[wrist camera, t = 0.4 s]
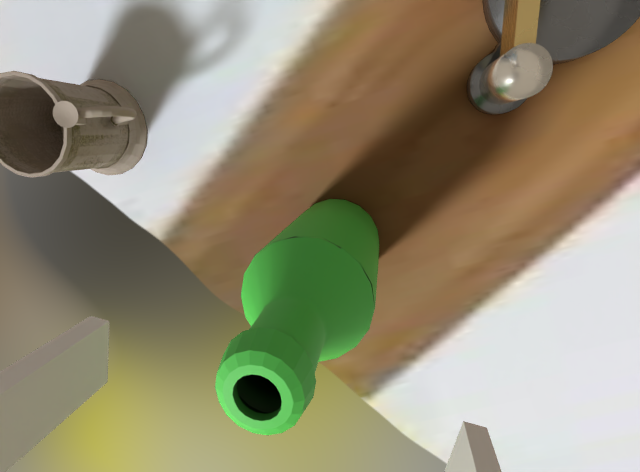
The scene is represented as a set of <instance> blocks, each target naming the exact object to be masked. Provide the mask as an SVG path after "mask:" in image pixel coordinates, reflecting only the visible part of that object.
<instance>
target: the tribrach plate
mask: <svg viewBox="0 0 640 472" xmlns="http://www.w3.org/2000/svg"><path fill="white" fill-rule="evenodd" d="M504 4H505V0H483V10H484V15H485V19H486V22H487V25H488V27H489V30H490V31H491V33H492V35H493V36H494V38H495V39H496V41H497V42H498V45H497V46H496V48H495V49H494V51H493V53H491V54H489V55H488V56H486V57H485V58H484V59H482V60H481V61H480V62H479V63H478V64H477V65H476V66H475V67H474V69H473V70H472V72H471V73H470V76H469V78H468V82H467V94H468V98H469V100H470V102H471V103H472V105H473V106H474V107H475V108H476V109H477V110H479V111H481V112H483V113H486V114H501V113H505V112H509V111H512V110H514V109H516V108H517V107H519V106H520V105H521V104H522V103H523V102H524V101H525V100H526V99H527V98H524V99H521V100H517V101H514V102H510V103H507V104H503V105H495V104H491V103H489V102H488V101H486V100H485V99H484V98H483V96H482V95H481V93H480V89H479V81H480V77H481V75H482V73H483V71H484V70H485V69H486V67H487V66H488V65H490V64H491V63H492V62H494V61H495V60H497V59H498V58H499V57H500V50H501V39H502V27H503V15H504ZM639 17H640V0H540V9H539V18H538V28H537V37H536V44H538V45H540V46H542V47H544V48H545V49H546V50H547V51H548V52H549V54H550V56H551V58H552V62H553V64H559V63H565V62H569V61H573V60H575V59H578V58H581V57H583V56H586V55H588V54H590V53H593V52H595V51H597V50H599V49H601V48H603V47H605V46H607V45H608V44H610V43H611V42H613V41H614V40H616V39H617V38H618V37H620V36H621V35H622V34H623V33H624V32H626V31H627V30H628V29H629V28H630V27H631V26H632V25H633V24H634V23H635V22H636V20H637V19H638V18H639Z"/></svg>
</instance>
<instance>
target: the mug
mask: <svg viewBox="0 0 640 472" xmlns="http://www.w3.org/2000/svg"><path fill="white" fill-rule="evenodd" d="M146 140H147V128H146V123H145V118H144V115H143V113H142V111H141V109H140V107H139V105H138V103H137V101H136V100H135V99H134V98H133V97H132V96H131V94H130V93H129V92H128V91H127V90H126V89H124V88H122V87H121V86H119V85H117V84H116V83H114V82H111V81H106V80H101V79H96V80H90V81H86V82H84V83H82V84H81V85H76V84H70V83H64V82H58V81H53V80H47V79H41V78H38V77H36V76H34V75H31V74H26V73H22V72H17V71H11V72H5V73H0V163H1V164H2V165H3V166H4V167H6V168H8V169H9V170H11V171H12V172H14V173H16V174H18V175H23V176H26V177H39V176H48V175H49V174H51V173H53V172H63V171H72V170H82V169H92V170H93V171H95V172H97V173H101V174H105V175H116V174H123V173H124V172H126V171H128V170H130V169H132V168H133V167H134V166H135V165H136V164H137V163H138V161H139V160H140V159H141V158H142V155H143V152H144V150H145V147H146Z"/></svg>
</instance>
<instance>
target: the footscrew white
mask: <svg viewBox="0 0 640 472" xmlns="http://www.w3.org/2000/svg"><path fill="white" fill-rule="evenodd" d="M539 9H540V0H505V4H504V15H503V27H502V39H501V50H500V57H499V58H498V59H497V60H495V61H494V62H492V63H491V64H490V65H488V66H487V67H486V69H485V70H484V71H483V73H482V75H481V77H480V81H479V89H480V93H481V95H482V96H483V98H484V99H485V100H486V101H488V102H489V103H491V104H495V105H503V104H507V103H510V102H514V101H517V100H521V99H524V98H528V97H531V96H533V95H535V94H537V93H538V92H540V91H541V90H542V89H543V88H544V87H545V86H546V85H547V83H548V82H549V80H550V78H551V75H552V70H553V62H552V58H551V56H550V54H549V52H548V51H547V50H546V49H545V48H544V47H542V46H540V45H538V44H536V37H537V28H538V18H539Z"/></svg>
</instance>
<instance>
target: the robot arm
mask: <svg viewBox="0 0 640 472" xmlns="http://www.w3.org/2000/svg"><path fill="white" fill-rule="evenodd" d="M108 345H109V321H107V320H103V319H100V318H96V317H93V316H90V317H88V318H87V319H85V320H83V321H82V322H80V323H78V324H77V325H75V326H74V327H72V328H70V329H69V330H67V331H66V332H64V333H62V334H61V335H59V336H57V337H56V338H54V339H52V340H51V341H49V342H47V343H46V344H44V345H43V346H41V347H40V348H38V349H36V350H34V351H33V352H31V353H30V354H28V355H26V356H25V357H23V358H21V359H20V360H18V361H16V362H15V363H13V364H12V365H10V366H8V367H7V368H5V369H4V370H2V371H0V472H6V471H7V470H8V469H9V468H11V467H12V466H13V465H14V464H15V463H16V462H17V461H18V460H20V459H21V458H22V457H23V456H24V455H25V454H26V453H28V452H29V451H30V450H31V449H32V448H33V447H34V446H35V445H36V444H38V443H39V442H40V441H41V440H42V439H43V438H45V437H46V436H47V435H48V434H49V433H50V432H51V431H52V430H53V429H55V428H56V427H57V426H58V425H59V424H60V423H61V422H63V421H64V420H65V419H66V418H67V417H68V416H69V415H71V414H72V413H73V412H74V411H75V410H76V409H77V408H78V407H79V406H81V405H82V404H83V403H84V402H85V401H86V400H87V399H89V398H90V397H91V396H92V395H93V394H94V393H95V392H96V391H98V390H99V389H100V388H101V387H102V386H103V385H104V384H106V383H107V379H108ZM444 472H501V469H500V466H499V463H498V460H497V457H496V454H495V451H494V448H493V445H492V442H491V439H490V436H489V433H488V430H487V428H485V427H482V426H478V425H475V424H471V423H468V422H464V421H463V424H462V426H461V429H460V432H459V434H458V437H457V440H456V442H455V445H454V448H453V450H452V453H451V455H450V458H449V461H448V463H447V466H446V469H445V471H444Z"/></svg>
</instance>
